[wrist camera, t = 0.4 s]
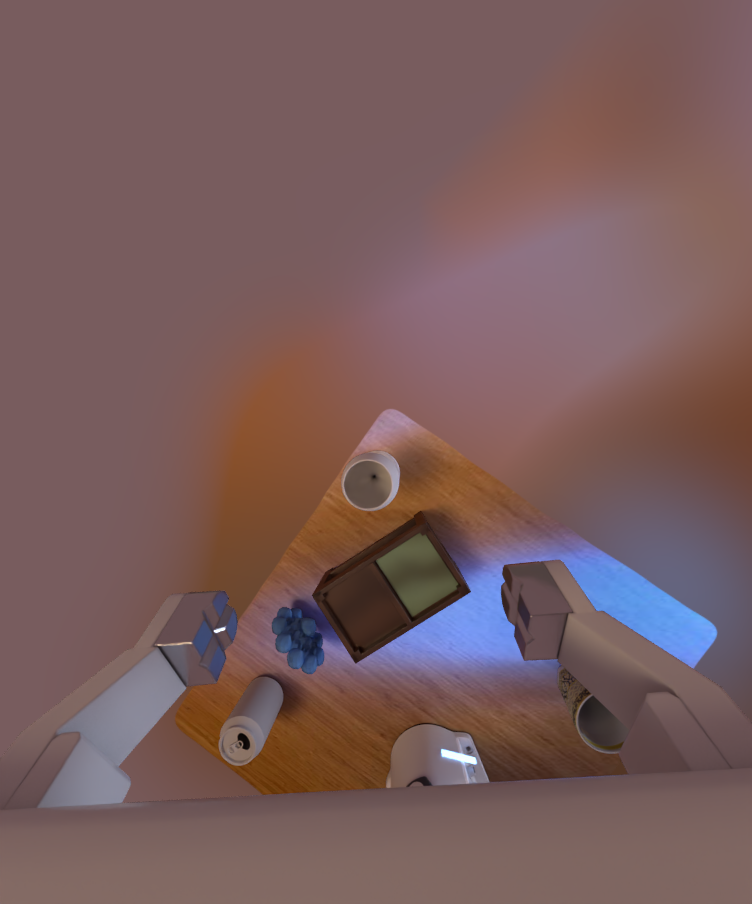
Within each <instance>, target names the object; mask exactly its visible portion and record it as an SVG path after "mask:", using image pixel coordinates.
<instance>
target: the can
mask: <svg viewBox="0 0 752 904" xmlns="http://www.w3.org/2000/svg"><path fill="white" fill-rule="evenodd" d="M282 702H283V691H282V688H281V686H280V685H279V684H278V682H276V681H275V680H274V679H272V678H269V677H259V678H256V679H254V680H253V681H252V682H251V683H250V684H249V686H248V687H247V689H246V690H245V692H244V693H243V695H242V697H241V698H240V700H239V701H238V703H237V704H236V706H235V708H234V709H233V711H232V712H231V714H230V716H229V717H228V719H227V720H226V722H225V723H224V725H223V727H222V729H221V732H220V740H219V750H220V753H221V755H222V757H223V758H224V759H225V760H226V761H227V762H228V763H230V764H233V765H244V764H247V763H248V762H250V761H251V760H252V759H253V758H254V757H256V756H257V755H258V754H259V753H260V751H261V750H262V748H263V745H264V743H265V741H266V739H267V737H268V734H269V732H270V730H271V728H272V726H273V723H274V721H275V719H276V717H277V714H278V712H279V710H280V708H281V706H282Z"/></svg>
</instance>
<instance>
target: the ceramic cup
mask: <svg viewBox="0 0 752 904" xmlns="http://www.w3.org/2000/svg"><path fill="white" fill-rule="evenodd" d="M557 684H558V687H559V689H560V691H561V694H562V696H563V699H564V701H565V703H566V705H567V708H568V711H569V713H570V716H571V718H572V720H573V723H574V725H575V727H576V729H577V731H578V733H579V735H580V737H581V738H582V739H583V741H584V742H585V743H586V744H587V745H588V746H590V747H591V748H593V749H595V750H597V751H599V752H602V753H608V754H614V753H619V752H620V750H621V747H622V745H623V743H624V741H625V739H626V736H627V734H628V732H629V729H628V728H627V727H626V726H625V725H623V724H622V723H621V722H620V721H619V720H618V719H617V718H616V717H615V716H614V715H613V714H612V713H611V712H610V711H609V710H608V709H607V708H606V707H605V706H604V705H603V704H602V703H601V702H600V701H599V700H598V699H597V698H595V697H594V696H593V695H592V694H591V693H590V692H589V691H588V690H587V689H586V688H585V687H584V686H583V685H582V684H581V683H580V682H579V681H578V680H577V679H576V678H575V677H574V676H573V675H572V674H571V673H570V672H568V671H567V670H566V669H565V668H564V667H563V666H562V665H561V666H560V667H559V668H558V676H557Z"/></svg>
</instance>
